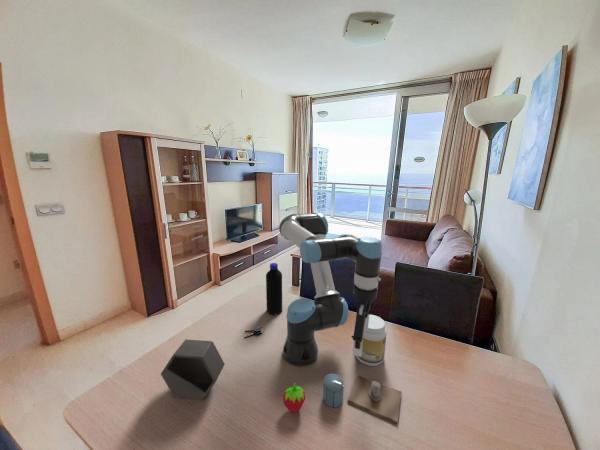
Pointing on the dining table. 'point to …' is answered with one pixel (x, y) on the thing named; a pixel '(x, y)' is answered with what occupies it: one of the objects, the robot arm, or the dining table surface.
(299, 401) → the strawberry
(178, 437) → the dining table surface
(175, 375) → the planter
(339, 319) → the robot arm
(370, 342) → the supplement tub
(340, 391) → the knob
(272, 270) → the bottle
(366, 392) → the stud board
